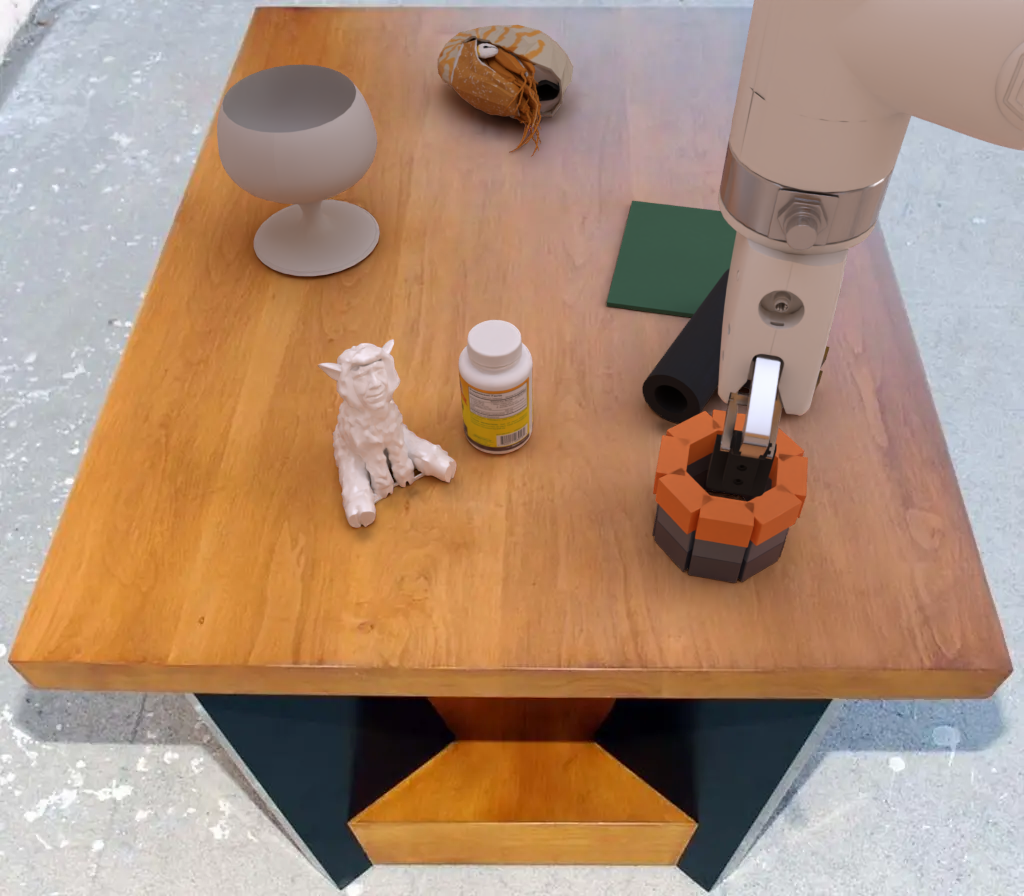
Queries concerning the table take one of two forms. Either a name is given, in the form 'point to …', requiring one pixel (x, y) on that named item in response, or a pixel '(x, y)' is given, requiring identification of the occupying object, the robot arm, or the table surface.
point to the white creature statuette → (376, 433)
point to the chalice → (301, 164)
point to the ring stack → (710, 555)
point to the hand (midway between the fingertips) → (740, 427)
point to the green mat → (670, 258)
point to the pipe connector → (692, 363)
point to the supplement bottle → (496, 388)
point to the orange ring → (726, 515)
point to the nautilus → (508, 73)
